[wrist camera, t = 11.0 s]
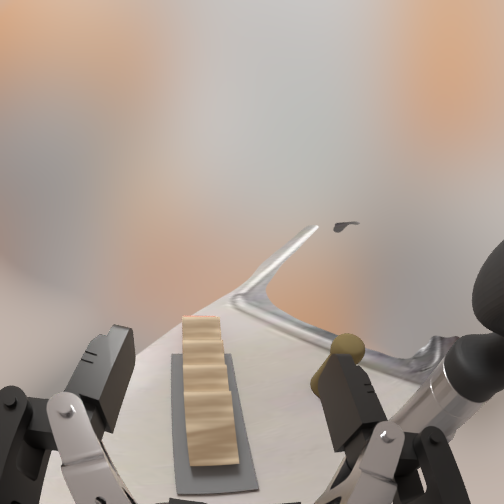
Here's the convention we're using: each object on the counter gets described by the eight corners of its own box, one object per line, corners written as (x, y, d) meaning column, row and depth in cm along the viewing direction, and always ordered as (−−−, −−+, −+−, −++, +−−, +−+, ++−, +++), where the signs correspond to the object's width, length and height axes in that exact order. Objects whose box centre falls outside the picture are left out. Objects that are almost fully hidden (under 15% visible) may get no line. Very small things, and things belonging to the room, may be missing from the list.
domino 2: (228, 405, 33) (222, 340, 39) (185, 406, 32) (182, 340, 38) (227, 406, 35) (221, 343, 41) (185, 407, 33) (182, 343, 39)
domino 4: (239, 463, 26) (231, 391, 32) (189, 466, 24) (183, 391, 30) (237, 462, 27) (229, 392, 33) (190, 464, 26) (184, 393, 32)
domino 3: (233, 434, 29) (226, 364, 35) (187, 435, 28) (182, 364, 34) (231, 434, 31) (225, 367, 37) (187, 435, 29) (183, 367, 35)
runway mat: (258, 489, 24) (259, 488, 24) (177, 494, 22) (176, 493, 21) (230, 355, 44) (230, 353, 44) (171, 355, 42) (171, 353, 42)
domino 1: (224, 377, 38) (219, 316, 43) (183, 377, 36) (182, 316, 42) (223, 379, 39) (218, 321, 45) (184, 379, 38) (182, 320, 43)
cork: (333, 406, 37) (361, 364, 32) (303, 386, 40) (324, 342, 35) (349, 383, 41) (376, 340, 36) (321, 366, 44) (343, 321, 39)
